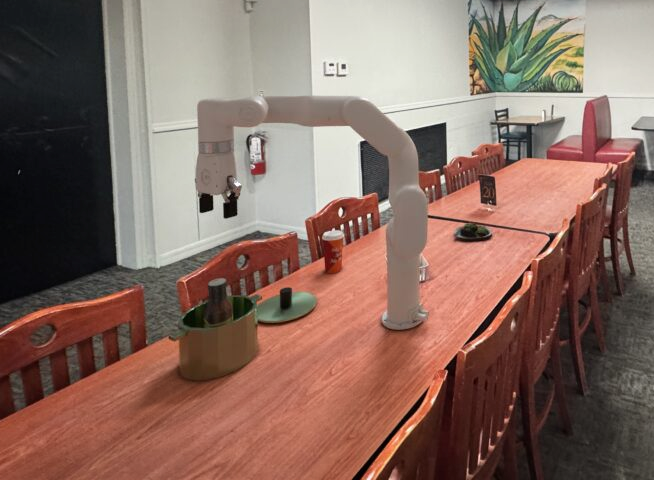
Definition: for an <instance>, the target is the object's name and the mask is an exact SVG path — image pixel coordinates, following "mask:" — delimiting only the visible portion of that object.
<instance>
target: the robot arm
mask: <svg viewBox="0 0 654 480" xmlns="http://www.w3.org/2000/svg"><path fill="white" fill-rule="evenodd" d="M196 111H197V113H196V115H197V117H196V118H197V143H198V144H197V145H198V146H197V148H198V153H197V157H196V165H195V178H194V183H195V190H196V191H197V197H198V204H199V205H198V207H199V208H198V209H199V211H198V213H200V214H205V213H208V212H212V211H214V196H220V195H221V197H222V199H223V200H224V202H222V210H223V211H222V213H223V219H225V220H226V219H231V218H234V217H237V216H238V213H239V212H238V201H239V198H240V196H241V192H242V187H243V186H242V183H240V182H239V181H238V174H237V163H236V158H235V132H234V131H235V129H234V127H236V128H254V127H257V126H259V125H260V124H293V125H294V124H295V125H299V126H302V127H308V128H309V127H310V128H319V127H322V128H323V127H350V128H351V129H352V130H353V131H354V132H355V133H356V134H358V135H359V136H360V137H361V138H362V139H363V140H365V141H366V142H367V143H368V144H369V145H370V146H371V147H373V148H374V149H375V150H376V151H378V152H379V153H380V154H381V155H383V156H387V161H388V170H389V171H388V173H389V174H388V175H389V179H388V202H389V205H390V207H391V209H392V211H393V217H391V218H390V220H389V221H388V223H387V225H386V228H385V245H386V246H385V247H386V306H387V307H386V311H384V312H383V314H382V316H381V324H382V325H383V326H384V327H386V328H387V329H391V330H395V331H396V330H397V331H401V330H402V331H403V330H409V329H412V328H414V327H417V326H418V325H420V324H421V323H427V322H428V319H429V316H430V311H429V310H425V309H424V308H423V307H424V306H423V303H422V302H420V301H421V298H420V294H421V293H420V288H421V286H420V284H421V283H420V279H421V277H420V275H421V274H420V273H421V271H420V270H421V269H420V267H421V264H420V263H421V257H420V256H421V254H422V253H423V251H424V250H425V248H426V246H427V242H428V227H429V226H428V225H429V218H428V217H429V204H428V198H427V196H426V193H425V192H424V190H423V189H422V188H421V187H420V171H419V170H420V169H419V168H420V167H419V155H418V151H417V148H416V144H415V143H414V141H413V140H412V139H413V138H412V137H411V136H410V135H409V134H408V132H407V131H406V130H404V129H403V128H402V127H401V126H398V125H397V124H396V122H394V121H393V120H392V119H390V117H388V116H387V115H386V114H385V113H384V112H382V111H381V110H380V109H379V107H377V106H376V105H375V104H374V103H373V102H372V100H369V99H368V98H366V97H364V96H361V95H360V96H359V95H295V96H294V95H293V96H291V95H289V96H285V95H284V96H283V95H282V96H281V95H279V96H277V95H275V96H274V95H251V96H246V97H244V98H239V99H238V98H237V99H229V98H224V97H223V98H222V97H221V98H217V97H216V98H204V99H200V100H199V101H198V102H197V106H196ZM228 194H229V195H228Z"/></svg>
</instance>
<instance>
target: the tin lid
mask: <svg viewBox="0 0 654 480" xmlns="http://www.w3.org/2000/svg"><path fill="white" fill-rule="evenodd" d="M317 302H318V300H317V297H316V296H315V295H314V294H313V293H310V292H306V291H293V288H292V287H291V286H290V287H289V286H288V287H287V286H286V287H282V288H281V289H280V290H279V294H277V295H274V296H271V297H269V298H266V299H265V300H263V301H261V302H260V303H259V304H257V322H261V323H267V324H276V323H277V324H278V323H284V322H289V321H292V320H296V319H298V318H300V317H303V316H306V315H307V314H308V313H310V312H311V311H312V310H313V309H315V307H316V306H317Z"/></svg>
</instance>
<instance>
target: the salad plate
mask: <svg viewBox="0 0 654 480" xmlns="http://www.w3.org/2000/svg"><path fill="white" fill-rule="evenodd" d="M492 235H493V232H492V231H491V228H490V227H489V226H487V225H485V224H484V225H483V224H477V223H476V222H473V223H471V222H466V223H464V225H462V226H457V227H455V229H454V234H453V238H456V239H457V240H459V241H462V242H481V241H486V240H489V239H490V238H491V237H492Z"/></svg>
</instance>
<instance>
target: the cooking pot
mask: <svg viewBox="0 0 654 480" xmlns="http://www.w3.org/2000/svg"><path fill="white" fill-rule="evenodd" d="M226 297H227V298H228V299H229V300H230V302H231V304H232V312H233V321H232V322H229V323H225V324H222V325H219V326H214V327H207V328H204V312H205V309H206V307H207V304H208V301H209V299H208V300H205V301H203V302H201V303H197V304H196V305H193V306H192V307H190V308H189V309H188V310H186V311H185V312H183V313H182V314H181V316H180V317H179V319H177V325H178V326H177V327H178V329H177V331H174V332H172V333H170V334H168V340H170V341H171V342H177V341H178V367H179V373H180V375H181V377H182V378H184V379H187V380H189V381H208V380H213V379H217V378H221V377H224V376H227V375H230V374H232V373H234V372H236V371H238V370H239V369H241V368H243V367H245V366H246V365H247V364H249V363H250V362H251V361H252V360H253V358H255V356H256V355H257V352H258V347H259V344H258V343H259V341H258V340H259V335H258V333H259V332H258V320H257V306H258V302H260V301H262V300H263V296H262V295H260V294H257V293H256V294H254V295H251V296H248V295H237V294H234V295H227V296H226Z"/></svg>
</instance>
